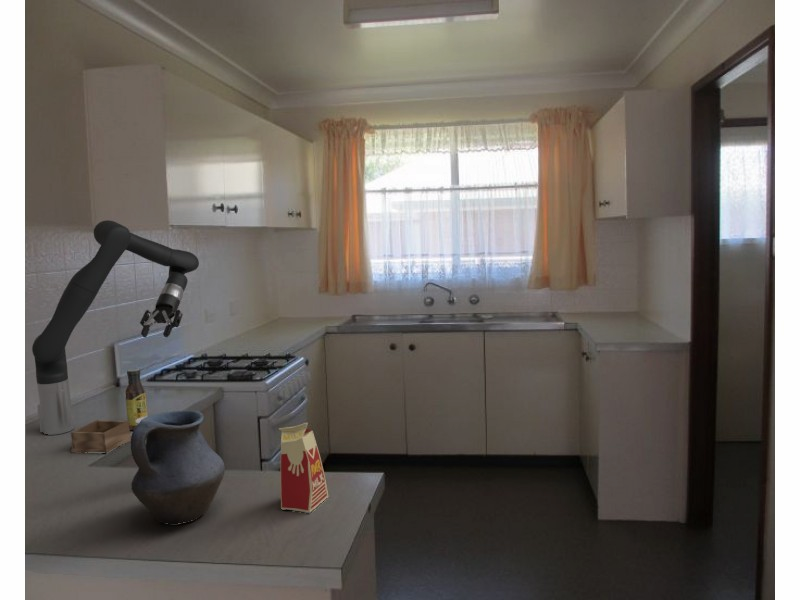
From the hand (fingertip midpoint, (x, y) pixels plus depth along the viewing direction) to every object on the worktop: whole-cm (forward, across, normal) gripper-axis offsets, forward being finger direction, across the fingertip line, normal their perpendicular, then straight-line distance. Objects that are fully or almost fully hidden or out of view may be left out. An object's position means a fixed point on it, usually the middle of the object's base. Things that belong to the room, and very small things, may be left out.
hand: (154, 336), depth 227 cm
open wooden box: (+42, -1, -1) cm, 42 cm away
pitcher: (+70, +52, -30) cm, 92 cm away
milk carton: (+63, +78, -22) cm, 102 cm away
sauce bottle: (+30, 0, +11) cm, 32 cm away
